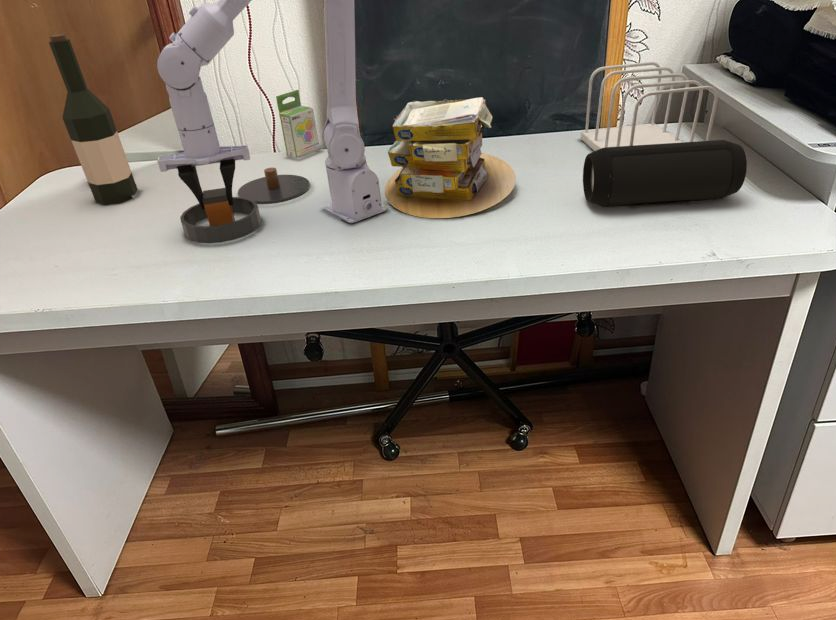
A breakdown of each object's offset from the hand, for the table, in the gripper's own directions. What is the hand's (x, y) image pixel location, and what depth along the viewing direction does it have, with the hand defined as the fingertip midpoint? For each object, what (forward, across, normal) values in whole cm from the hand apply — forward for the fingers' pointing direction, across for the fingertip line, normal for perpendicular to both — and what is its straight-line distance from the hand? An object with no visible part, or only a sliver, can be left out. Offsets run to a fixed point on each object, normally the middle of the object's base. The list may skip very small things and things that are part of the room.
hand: (217, 205), depth 109 cm
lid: (+4, +10, +14) cm, 18 cm away
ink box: (+5, +18, +36) cm, 40 cm away
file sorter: (+5, +86, +6) cm, 86 cm away
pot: (+5, 0, 0) cm, 5 cm away
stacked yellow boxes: (+5, +42, +1) cm, 43 cm away
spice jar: (+4, 0, 0) cm, 4 cm away
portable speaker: (+5, +76, -18) cm, 78 cm away
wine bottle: (+5, -22, +25) cm, 34 cm away
